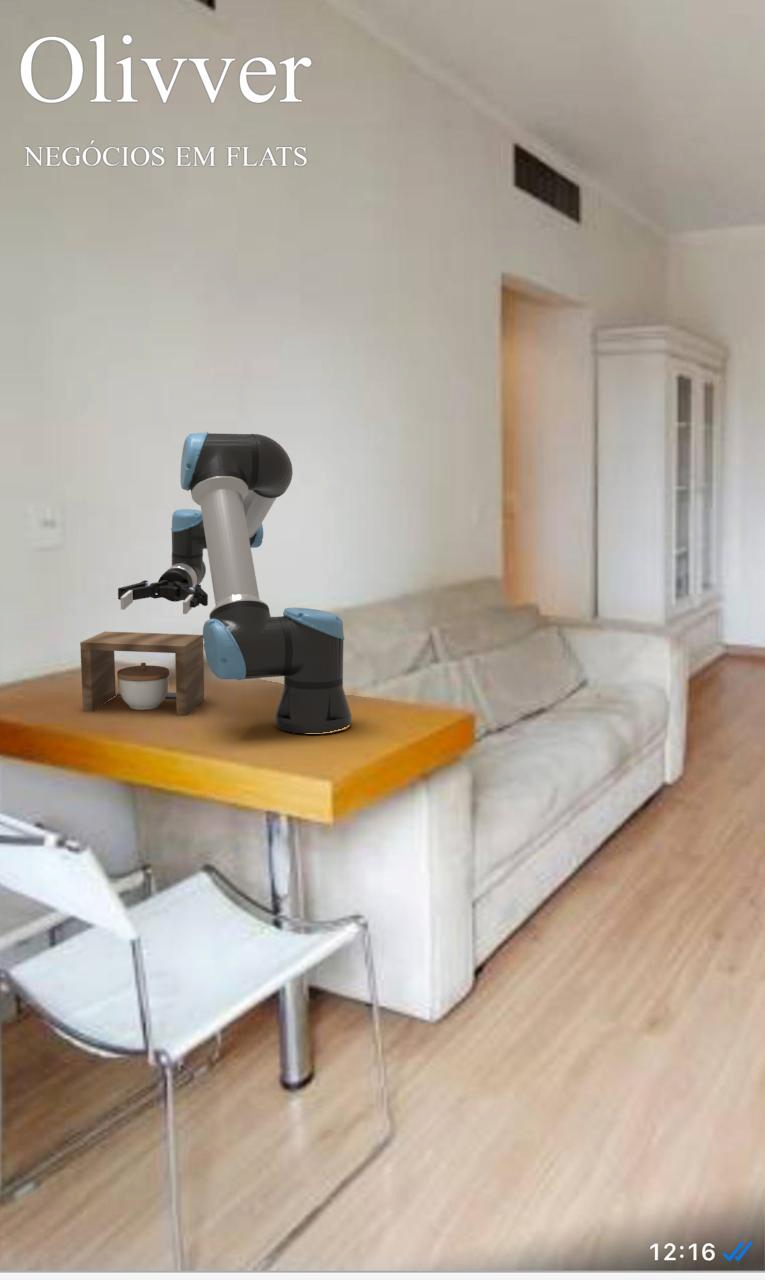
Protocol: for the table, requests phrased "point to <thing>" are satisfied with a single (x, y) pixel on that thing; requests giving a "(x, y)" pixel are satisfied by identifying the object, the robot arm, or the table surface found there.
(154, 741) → the table surface
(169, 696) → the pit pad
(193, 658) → the tunnel
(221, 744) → the table surface
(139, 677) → the lidded jar
